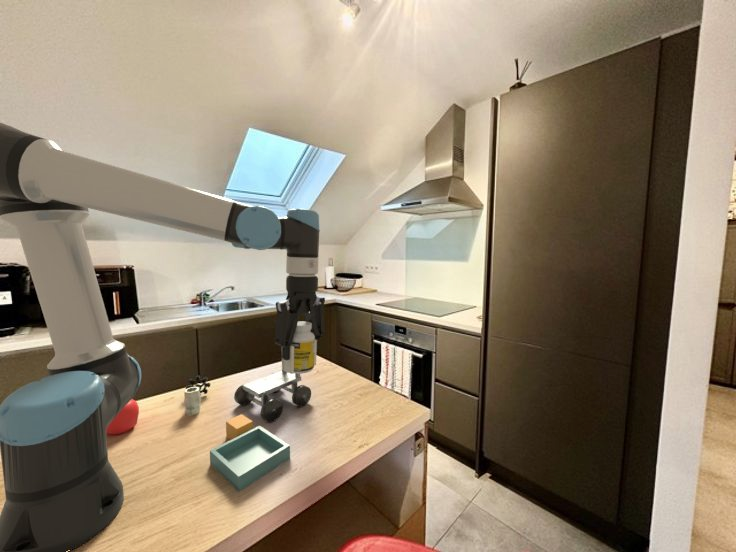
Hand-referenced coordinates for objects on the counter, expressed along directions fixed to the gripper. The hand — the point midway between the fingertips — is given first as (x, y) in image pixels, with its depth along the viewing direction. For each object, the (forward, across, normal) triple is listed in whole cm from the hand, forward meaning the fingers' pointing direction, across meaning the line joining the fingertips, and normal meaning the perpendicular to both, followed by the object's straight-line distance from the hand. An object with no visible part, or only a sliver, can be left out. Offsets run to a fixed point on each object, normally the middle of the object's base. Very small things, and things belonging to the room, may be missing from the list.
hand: (300, 367), depth 75 cm
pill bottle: (+1, 0, 0) cm, 1 cm away
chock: (+17, -11, +9) cm, 22 cm away
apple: (+17, -27, +35) cm, 48 cm away
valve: (+17, -11, +33) cm, 38 cm away
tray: (+16, -14, -1) cm, 21 cm away
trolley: (+16, +3, +15) cm, 23 cm away
